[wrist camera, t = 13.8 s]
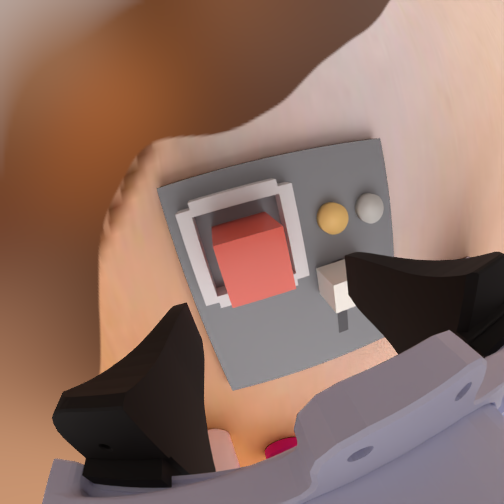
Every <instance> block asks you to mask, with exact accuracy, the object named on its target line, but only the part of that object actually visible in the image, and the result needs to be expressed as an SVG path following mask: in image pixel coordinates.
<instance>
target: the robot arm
mask: <svg viewBox="0 0 504 504" xmlns="http://www.w3.org/2000/svg"><path fill="white" fill-rule="evenodd" d="M344 257H345V266H346V275H347V286H348V295H349V296H350V298H351V299H352V301H353V302H354V304H355V305H356V307H357V308H358V309H359V310H360V311H361V313H362V314H363V315H364V316H365V317H366V318H367V319H368V320H369V321H370V322H371V323H372V324H373V325H374V326H375V327H376V328H377V329H378V330H379V331H380V332H381V333H382V334H383V336H384V337H385V338H386V339H387V340H388V341H389V342H390V344H391V345H392V346H393V348H394V349H395V350H396V352H397V353H398V355H396V356H394V357H392V358H391V359H389V360H387V361H384V362H382V363H380V364H378V365H376V366H374V367H372V368H370V369H368V370H365V371H363V372H361V373H359V374H356V375H354V376H352V377H349V378H347V379H345V380H342V381H340V382H338V383H336V384H334V385H332V386H331V387H329V388H327V389H325V390H324V391H322V392H320V393H318V394H316V395H315V396H314V397H313V398H312V399H311V400H310V401H309V402H308V403H307V404H306V406H305V407H304V408H303V409H302V410H301V411H300V412H299V413H298V414H297V418H296V422H295V426H294V431H295V435H296V439H297V446H295V447H293V448H291V449H289V450H286V451H284V452H282V453H280V454H277V455H275V456H273V457H270V458H268V459H266V460H263V461H261V462H258V463H256V464H253V465H250V466H246V467H241V468H236V469H230V470H224V471H217V472H216V469H215V465H214V461H213V456H212V451H211V446H210V441H209V436H208V430H207V423H206V416H205V408H204V350H203V343H202V338H201V336H200V334H199V331H198V329H197V327H196V324H195V322H194V319H193V317H192V315H191V312H190V310H189V307H188V305H187V303H183V304H179V305H176V306H173V307H172V308H171V309H170V310H169V311H168V312H167V313H166V315H165V316H164V317H163V318H162V319H161V321H160V322H159V323H158V324H157V325H156V327H155V328H154V329H153V330H152V331H151V332H150V333H149V334H148V335H147V337H146V338H145V339H144V340H143V341H142V342H141V343H140V344H139V345H138V346H137V347H136V348H135V349H134V350H133V351H131V352H130V353H129V354H128V355H127V356H126V357H124V358H123V359H122V360H120V361H119V362H118V363H116V364H115V365H113V366H112V367H111V368H109V369H108V370H106V371H105V372H103V373H101V374H100V375H98V376H96V377H95V378H93V379H91V380H89V381H87V382H85V383H83V384H81V385H79V386H76V387H74V388H71V389H69V390H67V391H64V392H63V393H62V395H61V398H60V400H59V402H58V404H57V407H56V409H55V411H54V414H53V417H52V419H53V423H54V425H55V427H56V429H57V431H58V432H59V433H60V434H61V435H62V437H63V438H64V439H65V440H67V442H69V443H70V444H71V445H72V446H73V447H74V448H75V449H76V450H77V451H79V452H80V453H81V454H82V455H83V456H84V457H85V458H86V461H85V465H83V464H81V463H79V462H75V461H68V460H62V459H54V461H53V464H52V468H51V471H50V475H49V478H48V482H47V486H46V490H45V494H44V498H43V503H42V504H504V254H503V253H501V252H492V253H489V254H485V255H481V256H476V257H471V258H470V257H467V258H464V259H456V260H440V261H431V260H413V259H405V258H398V257H391V256H385V255H379V254H373V253H366V252H354V253H351V254H348V255H345V256H344Z"/></svg>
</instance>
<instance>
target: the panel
mask: <svg viewBox="0 0 504 504" xmlns="http://www.w3.org/2000/svg"><path fill="white" fill-rule="evenodd" d="M157 192H158V195H159V198H160V202H161V205H162V208H163V212H164V215H165V218H166V221H167V224H168V227H169V231H170V234H171V237H172V240H173V243H174V246H175V249H176V252H177V254H178V257H179V260H180V263H181V266H182V269H183V271H184V274H185V277H186V280H187V282H188V285H189V288H190V291H191V293H192V296H193V298H194V301H195V304H196V306H197V309H198V311H199V314H200V316H201V319H202V321H203V324H204V326H205V329H206V331H207V334H208V336H209V338H210V341H211V343H212V346H213V348H214V350H215V353H216V355H217V357H218V360H219V362H220V364H221V366H222V369H223V371H224V373H225V375H226V377H227V380H228V382H229V384H230V386H231V388H232V390H237V389H241V388H245V387H249V386H253V385H256V384H260V383H263V382H267V381H270V380H274V379H277V378H280V377H283V376H287V375H290V374H293V373H296V372H299V371H302V370H305V369H307V368H310V367H313V366H316V365H319V364H321V363H324V362H327V361H329V360H332V359H334V358H337V357H340V356H342V355H345V354H347V353H349V352H352V351H354V350H357V349H359V348H361V347H364V346H366V345H368V344H370V343H373V342H375V341H377V340H379V339H381V338H383V337H384V336H383V334H382V333H381V332H380V331H379V330H378V329H377V328H376V327H375V326H374V325H373V324H372V323H371V322H370V321H369V320H368V319H367V318H366V317H365V316H364V315H363V314H362V313H361V311H360V310H359V309H358V308H357V307H356V306H354V307H352V308H349V309H347V310H344V311H341V312H339V313H336V312H335V311H334V310H333V309H332V307H331V306H330V305H329V304H328V303H327V302H326V300H325V299H324V298H323V297H322V296H321V294H320V292H319V285H318V278H317V272H316V268H319V267H322V266H325V265H328V264H331V263H334V262H337V261H340V260H343V259H345V257H344V256H345V255H348V254H351V253H354V252H366V253H373V254H379V255H385V256H391V257H394V251H393V233H392V220H391V209H390V199H389V191H388V183H387V176H386V170H385V163H384V157H383V152H382V146H381V141H380V138H379V139H369V140H361V141H354V142H347V143H341V144H335V145H328V146H323V147H317V148H311V149H306V150H301V151H296V152H291V153H286V154H281V155H277V156H272V157H268V158H263V159H259V160H255V161H251V162H246V163H242V164H238V165H234V166H231V167H227V168H223V169H219V170H216V171H212V172H209V173H205V174H202V175H198V176H195V177H191V178H188V179H185V180H181V181H178V182H175V183H172V184H169V185H166V186H163V187H160V188H157ZM261 212H266V213H267V214H268V215H270V216H271V217H272V218H273V219H275V220H276V221H277V222H278V223H280V224H281V225H282V226H283V228H284V233H285V237H286V242H287V247H288V251H289V256H290V261H291V265H292V270H293V275H294V280H295V285H296V289H294V290H291V291H288V292H285V293H281V294H278V295H275V296H272V297H269V298H265V299H262V300H259V301H255V302H252V303H249V304H245V305H242V306H238V307H235V308H232V305H231V302H230V299H229V296H228V293H227V290H226V286H225V283H224V280H223V277H222V274H221V271H220V268H219V265H218V262H217V258H216V255H215V252H214V249H213V242H212V228H211V227H212V226H216V225H219V224H222V223H226V222H229V221H233V220H236V219H240V218H243V217H247V216H250V215H254V214H258V213H261Z"/></svg>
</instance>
